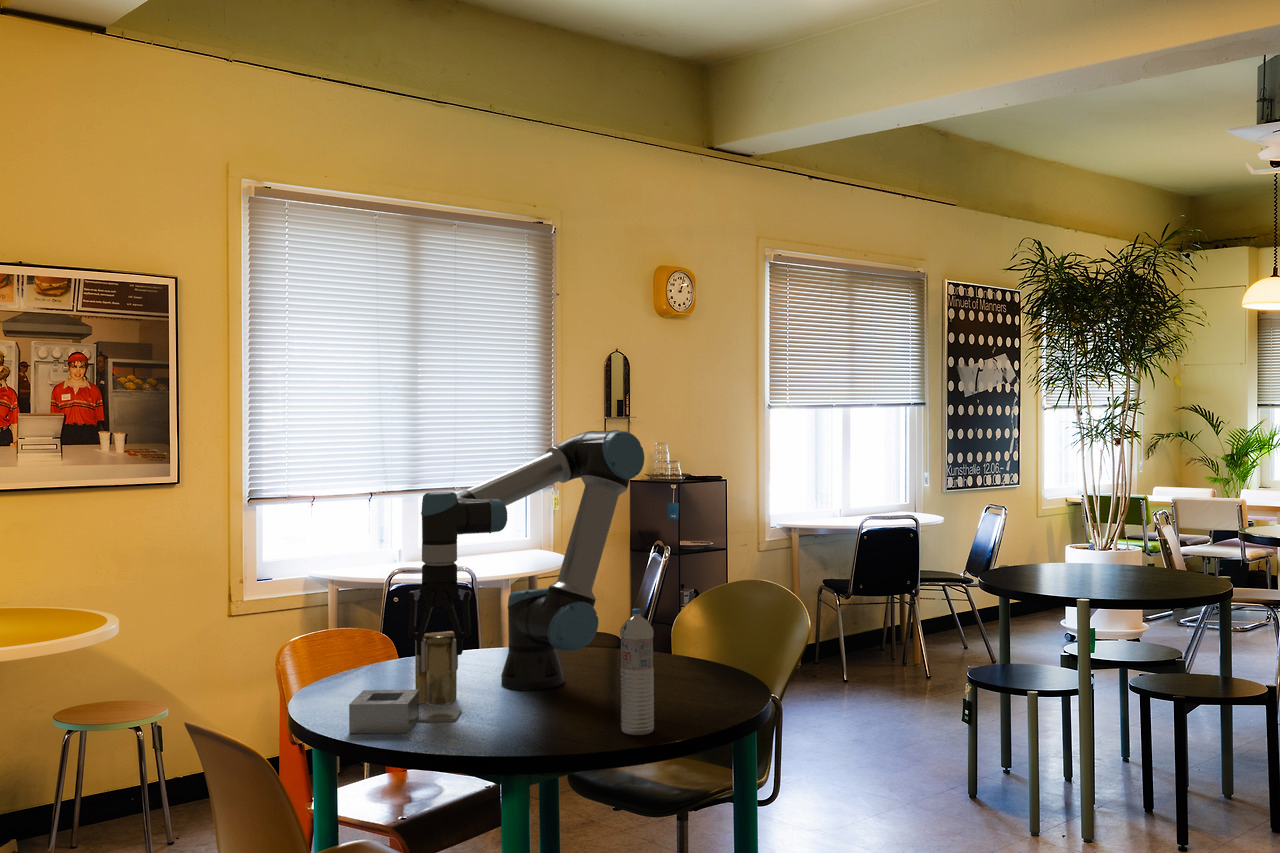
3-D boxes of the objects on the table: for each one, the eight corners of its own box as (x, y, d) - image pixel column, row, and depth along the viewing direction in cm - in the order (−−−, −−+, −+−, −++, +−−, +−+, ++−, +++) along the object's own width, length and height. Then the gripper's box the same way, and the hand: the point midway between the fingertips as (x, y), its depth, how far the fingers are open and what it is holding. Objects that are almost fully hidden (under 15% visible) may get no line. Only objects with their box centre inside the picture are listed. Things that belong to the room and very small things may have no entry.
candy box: (452, 695, 240) (452, 630, 241) (457, 699, 237) (457, 633, 237) (414, 700, 237) (414, 633, 237) (419, 704, 233) (419, 636, 233)
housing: (419, 717, 222) (419, 689, 222) (408, 733, 210) (408, 703, 210) (363, 718, 221) (363, 690, 221) (349, 733, 209) (349, 704, 209)
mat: (461, 711, 226) (461, 709, 226) (455, 721, 218) (455, 719, 218) (425, 712, 226) (425, 709, 226) (418, 722, 218) (418, 719, 218)
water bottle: (619, 727, 213) (619, 606, 213) (652, 726, 213) (651, 606, 214) (622, 736, 206) (621, 612, 206) (655, 735, 207) (654, 611, 207)
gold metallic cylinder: (455, 698, 225) (455, 633, 225) (451, 705, 219) (451, 638, 219) (428, 698, 225) (428, 633, 225) (423, 705, 219) (423, 638, 219)
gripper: (485, 560, 226) (485, 666, 226) (399, 561, 226) (399, 666, 225) (481, 565, 219) (481, 673, 218) (391, 565, 218) (392, 674, 218)
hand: (439, 670), depth 222 cm, fingers closed on gold metallic cylinder, 6 cm apart
